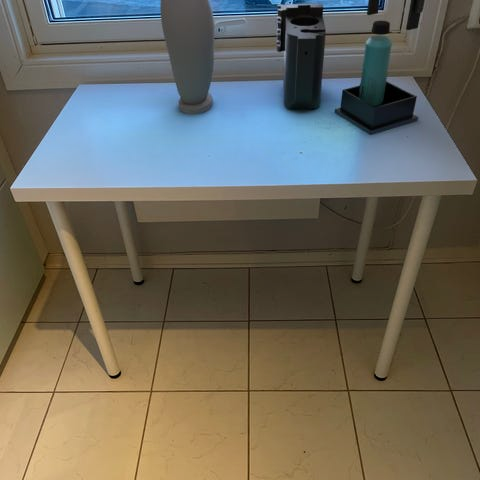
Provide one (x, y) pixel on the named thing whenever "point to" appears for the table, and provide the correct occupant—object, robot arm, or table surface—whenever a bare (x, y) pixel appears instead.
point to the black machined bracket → (301, 53)
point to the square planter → (378, 109)
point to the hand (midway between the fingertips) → (391, 21)
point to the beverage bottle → (375, 65)
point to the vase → (190, 50)
